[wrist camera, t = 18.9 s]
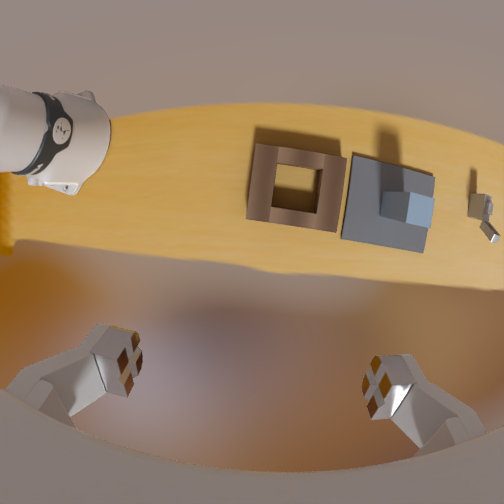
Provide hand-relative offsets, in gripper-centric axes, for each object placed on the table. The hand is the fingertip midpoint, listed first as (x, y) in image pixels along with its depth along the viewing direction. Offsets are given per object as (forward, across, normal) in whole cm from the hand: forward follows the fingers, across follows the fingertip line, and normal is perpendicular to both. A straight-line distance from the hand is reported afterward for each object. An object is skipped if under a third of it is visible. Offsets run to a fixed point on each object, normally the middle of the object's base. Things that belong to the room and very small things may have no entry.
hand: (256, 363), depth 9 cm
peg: (+31, -19, -2) cm, 36 cm away
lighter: (+31, -35, -3) cm, 47 cm away
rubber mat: (+31, -19, -2) cm, 37 cm away
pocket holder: (+32, -4, -2) cm, 32 cm away
